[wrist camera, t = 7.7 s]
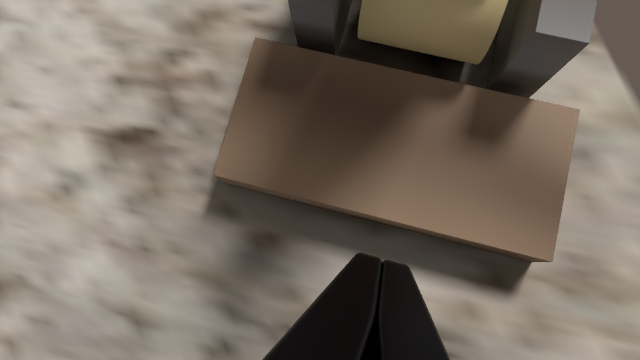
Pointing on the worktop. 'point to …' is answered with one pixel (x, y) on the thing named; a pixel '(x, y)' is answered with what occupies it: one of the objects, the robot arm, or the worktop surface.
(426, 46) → the adjuster lever
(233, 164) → the stand
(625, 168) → the worktop surface
